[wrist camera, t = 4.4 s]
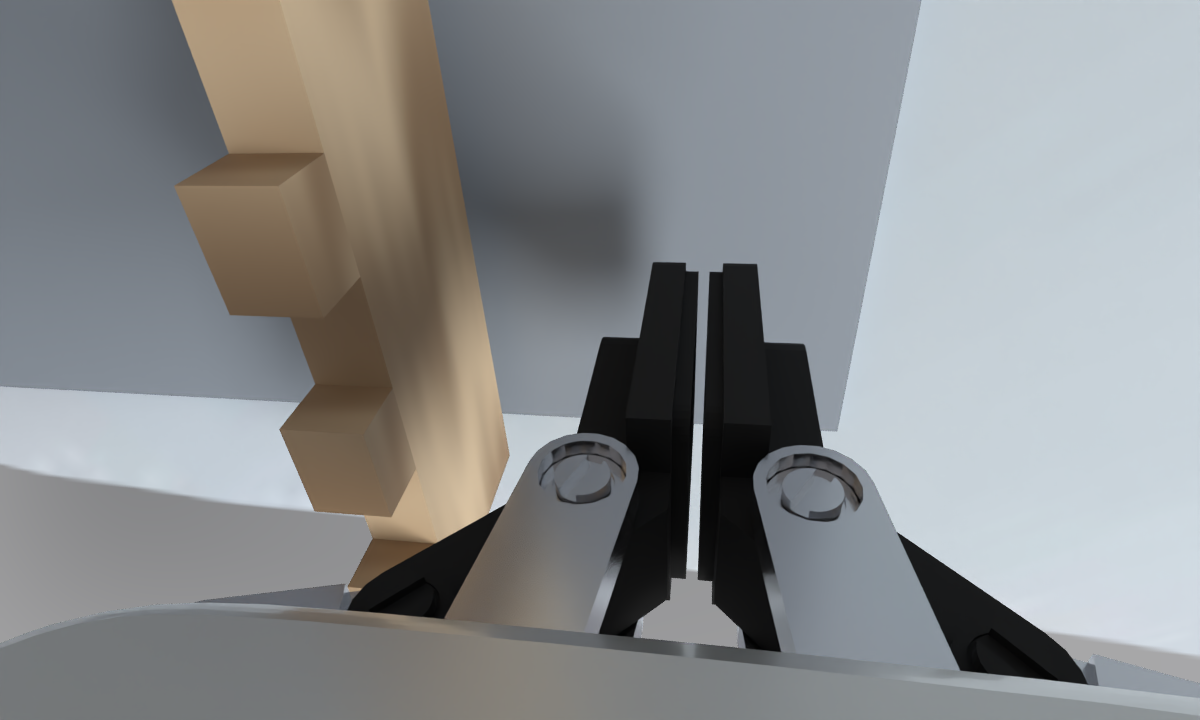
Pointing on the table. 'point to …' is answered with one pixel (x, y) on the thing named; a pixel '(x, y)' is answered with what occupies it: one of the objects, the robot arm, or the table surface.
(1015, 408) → the table surface
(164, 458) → the table surface
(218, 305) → the card
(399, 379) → the hinged fence panel
